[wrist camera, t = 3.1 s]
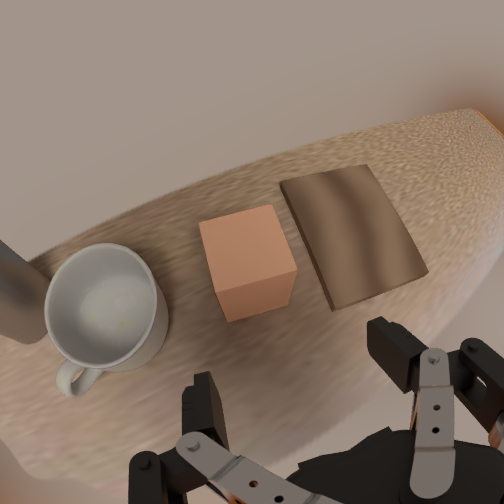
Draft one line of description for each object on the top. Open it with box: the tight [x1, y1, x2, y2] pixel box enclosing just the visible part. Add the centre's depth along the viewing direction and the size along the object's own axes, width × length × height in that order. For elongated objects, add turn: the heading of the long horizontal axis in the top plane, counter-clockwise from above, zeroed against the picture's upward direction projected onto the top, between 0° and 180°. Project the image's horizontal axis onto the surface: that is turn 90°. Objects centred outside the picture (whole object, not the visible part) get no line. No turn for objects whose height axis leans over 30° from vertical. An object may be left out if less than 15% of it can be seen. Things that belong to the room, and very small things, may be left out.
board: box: [280, 164, 429, 312], centre depth 32 cm, size 12×16×1 cm
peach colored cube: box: [199, 204, 298, 322], centre depth 26 cm, size 6×6×8 cm
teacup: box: [44, 243, 169, 398], centre depth 24 cm, size 14×11×8 cm
